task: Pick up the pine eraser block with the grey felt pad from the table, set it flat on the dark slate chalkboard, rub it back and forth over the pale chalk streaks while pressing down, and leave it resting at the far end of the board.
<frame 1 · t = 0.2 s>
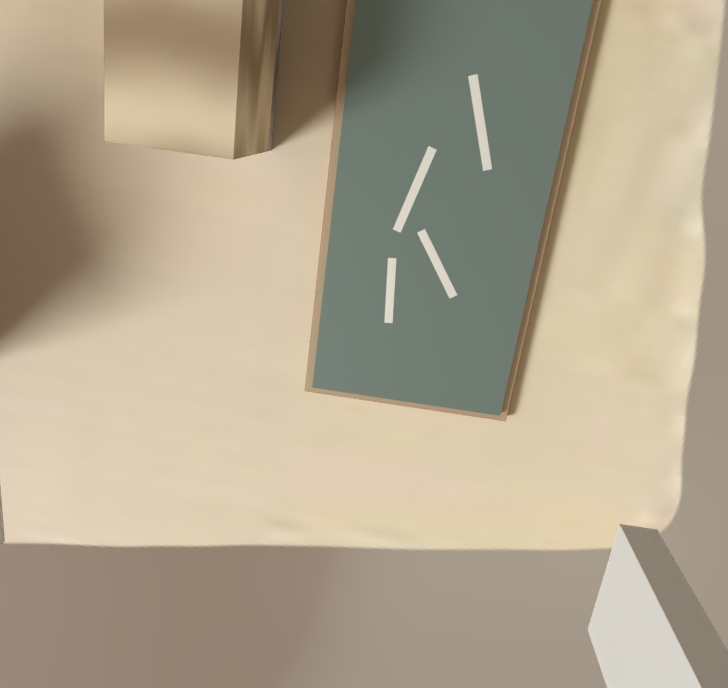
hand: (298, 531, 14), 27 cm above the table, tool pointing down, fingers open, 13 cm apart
eraser block: (225, 49, 36), on the table
chalkboard: (439, 192, 38), on the table
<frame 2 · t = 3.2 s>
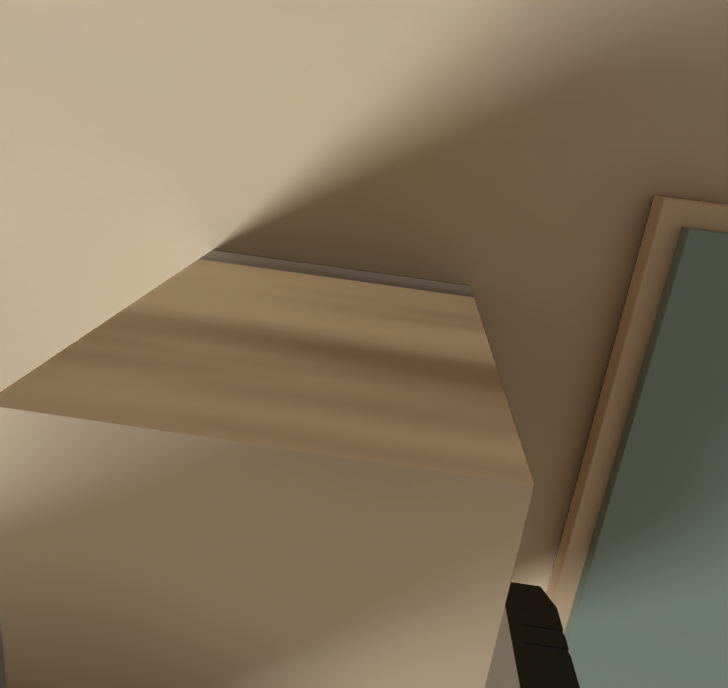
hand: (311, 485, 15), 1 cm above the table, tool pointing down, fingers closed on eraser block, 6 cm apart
eraser block: (319, 457, 17), on the table, touching gripper
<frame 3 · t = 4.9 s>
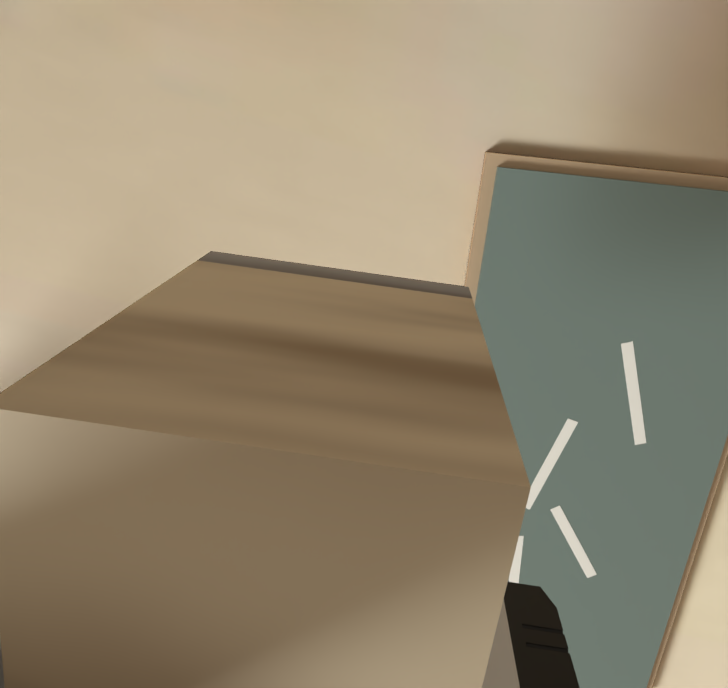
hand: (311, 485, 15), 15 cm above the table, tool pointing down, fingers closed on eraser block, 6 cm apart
eraser block: (317, 458, 17), point 14 cm above the table, touching gripper
chalkboard: (575, 458, 31), on the table
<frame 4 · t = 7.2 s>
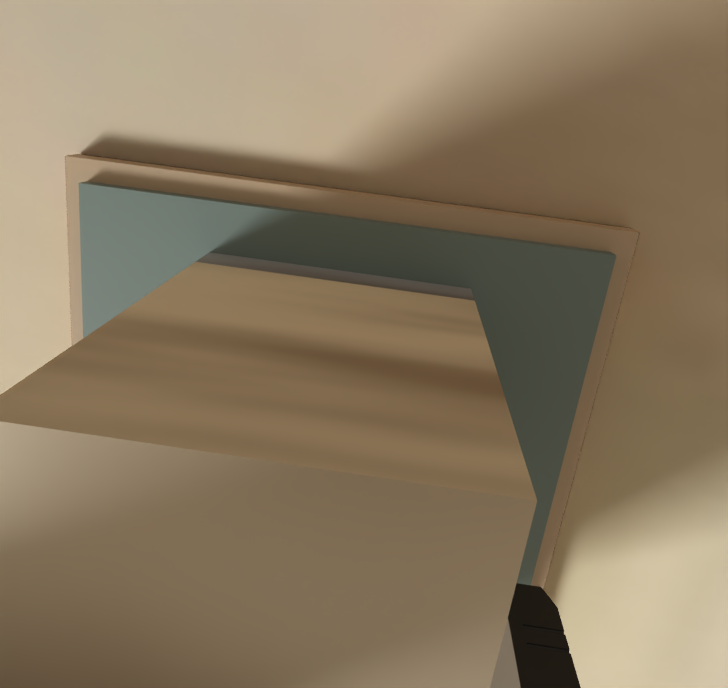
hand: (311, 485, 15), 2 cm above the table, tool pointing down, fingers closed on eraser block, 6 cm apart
eraser block: (317, 461, 16), point 1 cm above the table, touching chalkboard, gripper
chalkboard: (300, 640, 20), on the table
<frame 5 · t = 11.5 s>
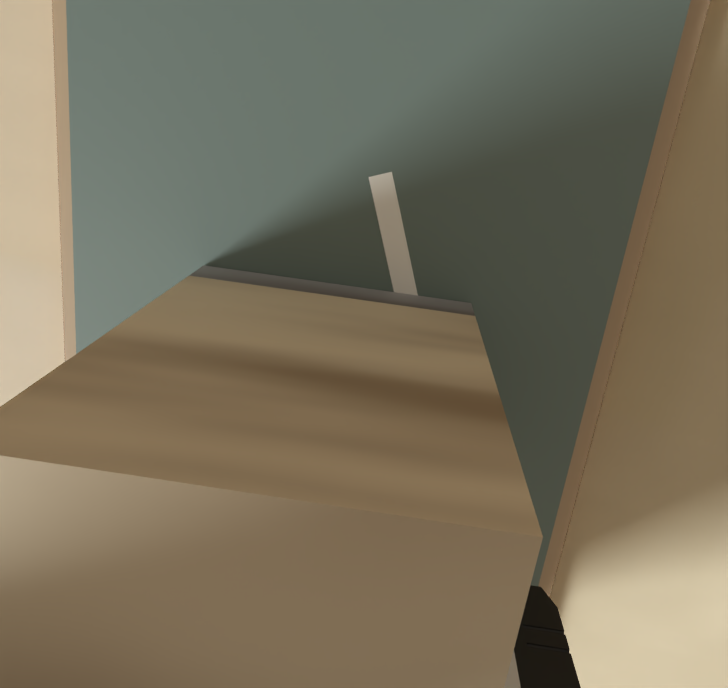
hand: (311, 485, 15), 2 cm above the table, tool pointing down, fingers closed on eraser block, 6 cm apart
eraser block: (314, 479, 16), point 1 cm above the table, touching gripper
chalkboard: (325, 420, 17), on the table
when the fingers open (2 cm above the table, at t = 16.0 s): eraser block stays where it is, resting on chalkboard.
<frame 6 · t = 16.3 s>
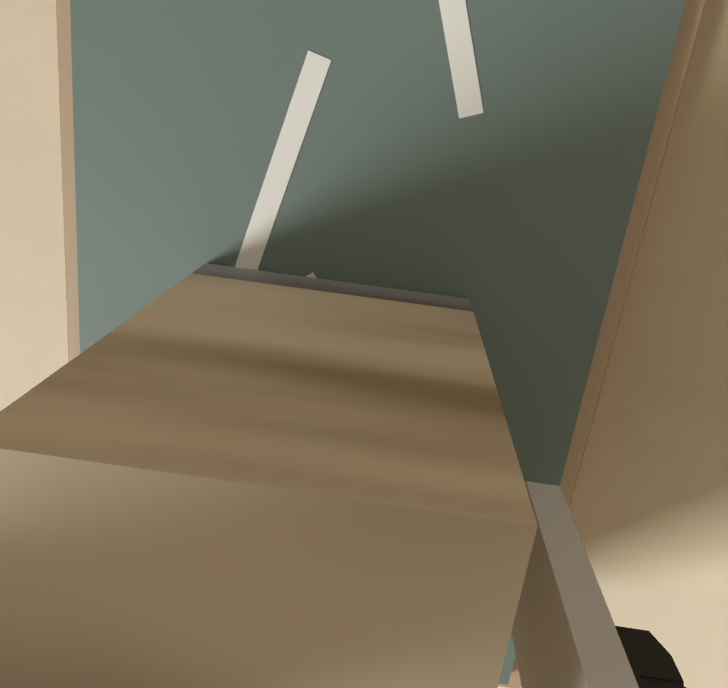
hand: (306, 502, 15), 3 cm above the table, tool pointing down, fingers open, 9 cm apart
eraser block: (316, 473, 16), point 1 cm above the table, touching chalkboard
chalkboard: (352, 178, 15), on the table
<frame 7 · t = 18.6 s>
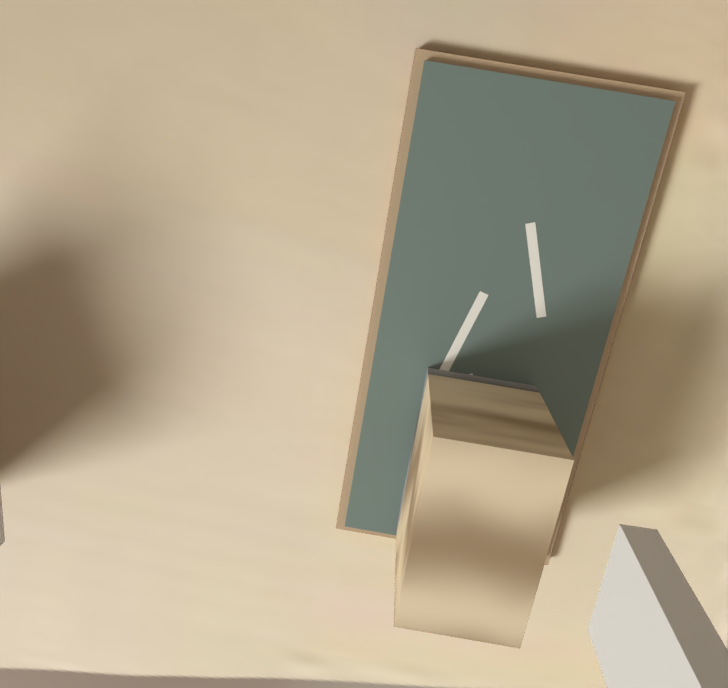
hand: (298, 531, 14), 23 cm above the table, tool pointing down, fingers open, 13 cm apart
eraser block: (463, 457, 37), point 1 cm above the table, touching chalkboard
chalkboard: (488, 333, 36), on the table
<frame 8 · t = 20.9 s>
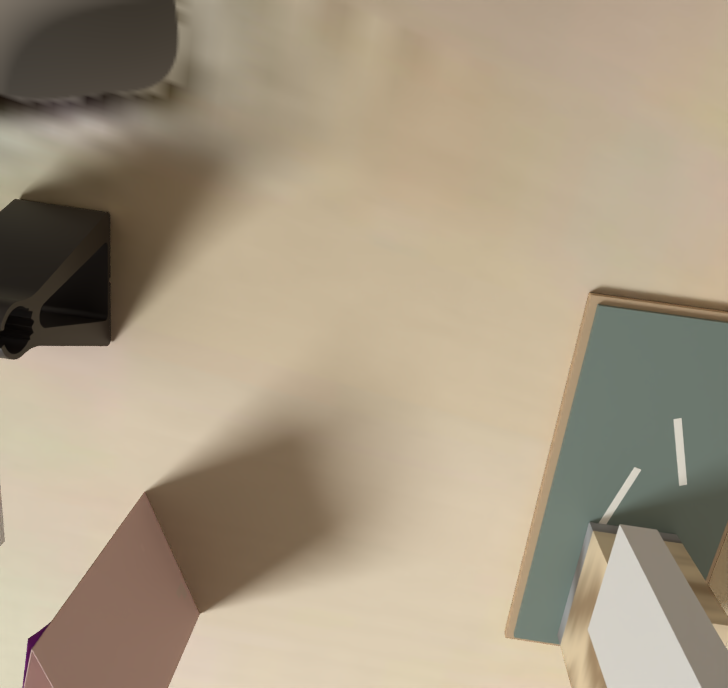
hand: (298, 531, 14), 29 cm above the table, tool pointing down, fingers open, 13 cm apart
eraser block: (614, 586, 46), point 1 cm above the table, touching chalkboard
phone stand: (67, 272, 43), on the table
greeting card: (165, 562, 50), on the table
chalkboard: (636, 493, 45), on the table
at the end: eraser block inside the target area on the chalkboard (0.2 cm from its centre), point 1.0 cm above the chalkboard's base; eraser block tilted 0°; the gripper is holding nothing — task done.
